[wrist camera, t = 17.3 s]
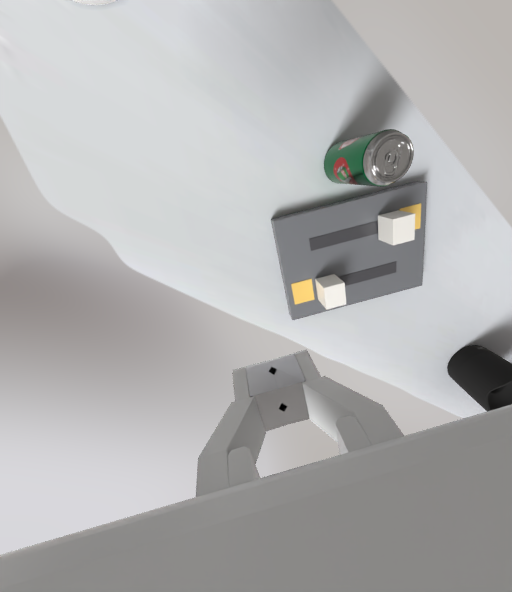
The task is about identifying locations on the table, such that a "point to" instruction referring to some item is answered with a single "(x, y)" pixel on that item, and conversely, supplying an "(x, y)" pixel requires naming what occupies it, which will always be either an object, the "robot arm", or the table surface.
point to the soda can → (370, 159)
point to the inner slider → (396, 227)
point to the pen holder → (483, 376)
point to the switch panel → (350, 248)
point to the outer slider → (331, 291)
